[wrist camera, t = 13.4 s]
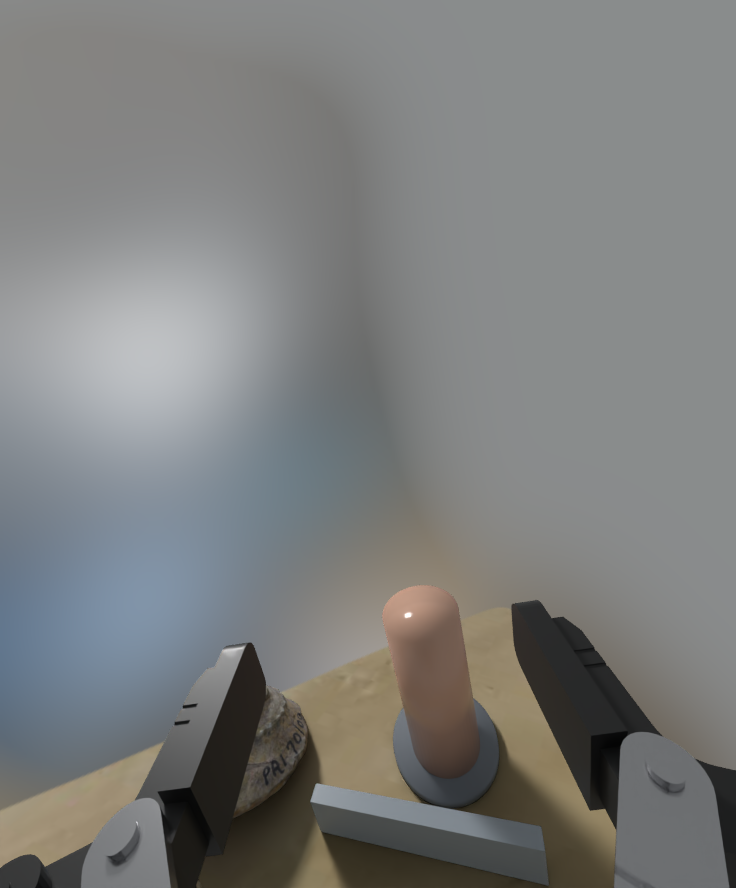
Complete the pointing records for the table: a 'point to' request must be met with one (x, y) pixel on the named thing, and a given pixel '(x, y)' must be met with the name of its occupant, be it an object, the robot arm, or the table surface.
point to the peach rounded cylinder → (433, 679)
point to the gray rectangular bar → (433, 832)
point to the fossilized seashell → (273, 750)
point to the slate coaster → (455, 789)
